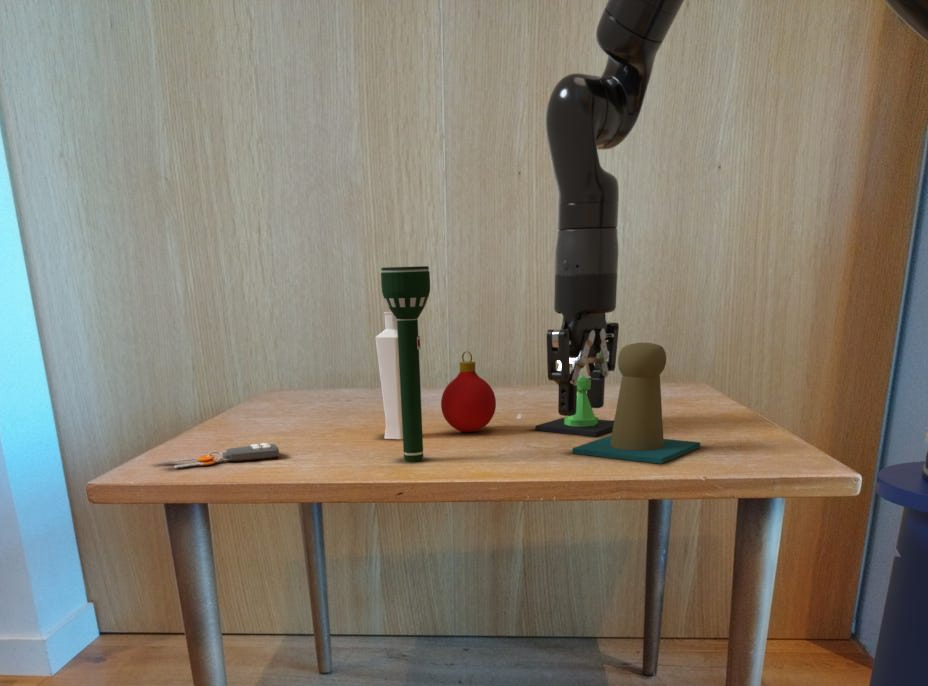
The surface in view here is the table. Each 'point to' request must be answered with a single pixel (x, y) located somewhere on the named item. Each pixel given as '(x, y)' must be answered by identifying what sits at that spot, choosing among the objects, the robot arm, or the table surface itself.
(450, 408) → the christmas ornament
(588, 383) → the game piece
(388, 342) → the perfume bottle
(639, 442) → the cork
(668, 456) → the teal pad
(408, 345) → the flashlight
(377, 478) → the table surface
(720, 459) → the table surface
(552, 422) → the charcoal pad
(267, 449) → the key chain
